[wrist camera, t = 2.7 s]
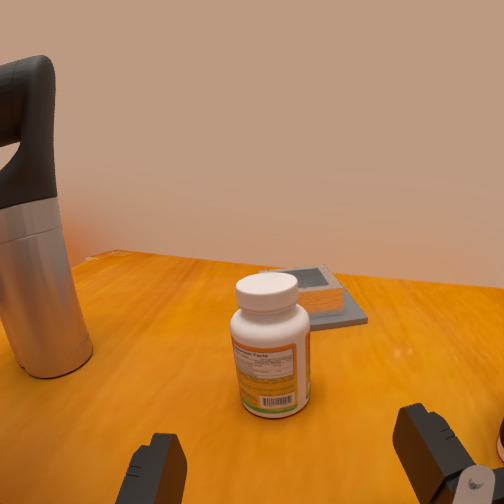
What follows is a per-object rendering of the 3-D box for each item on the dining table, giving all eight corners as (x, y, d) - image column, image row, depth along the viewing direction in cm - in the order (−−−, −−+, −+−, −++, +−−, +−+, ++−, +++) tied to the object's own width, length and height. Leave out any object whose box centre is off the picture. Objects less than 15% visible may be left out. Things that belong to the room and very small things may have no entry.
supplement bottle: (275, 369, 26) (266, 264, 23) (324, 392, 22) (325, 276, 19) (227, 398, 22) (207, 285, 20) (276, 431, 18) (266, 306, 16)
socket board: (240, 342, 32) (235, 304, 31) (243, 299, 44) (239, 269, 42) (367, 327, 32) (368, 289, 30) (339, 289, 43) (339, 259, 42)
